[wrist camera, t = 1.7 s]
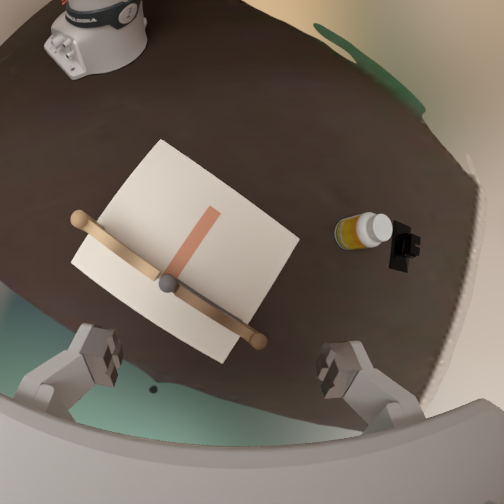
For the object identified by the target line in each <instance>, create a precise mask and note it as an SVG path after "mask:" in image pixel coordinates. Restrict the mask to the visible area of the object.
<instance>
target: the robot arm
mask: <svg viewBox="0 0 504 504" xmlns="http://www.w3.org/2000/svg"><path fill="white" fill-rule="evenodd" d="M62 1H64V0H62ZM65 3H67V5H66V11H65V12H63V13H62V14H61V15H60V16H59V17H58V18H57V19H56V20H55V21H54V23H53V25H52V27H51V31H52V35H51V36H50V37H49V39H48V40H47V42H46V43H45V45H44V48H45V50H46V52H47V53H48V54H49V55H50V56H51V57H52V58H53V59H54V61H55V62H56V63H57V64H58V65H59V66H60V67H61V68H62V69H63V71H64V72H65V73H66V74H67V75H68V76H69V77H70V78H71V79H73V80H75V79H79V78H82V77H84V76H87V75H89V74H98V73H106V72H110V71H113V70H116V69H119V68H121V67H123V66H125V65H127V64H129V63H130V62H132V61H133V60H135V59H136V58H137V57H138V56H139V55H140V54H141V53H142V52H143V50H144V49H145V47H146V44H147V36H146V32H145V28H146V25H147V20H146V18H144V17H143V8H142V0H65V1H64V2H63V4H62V5H64V4H65ZM119 337H120V335H119V332H118V330H117V329H113V328H108V327H103V326H98V325H92V324H87V323H83V324H82V325H81V326H80V328H79V329H78V331H77V333H76V335H75V337H74V339H73V341H72V343H71V345H70V347H69V349H68V351H65V350H64V351H63V352H61V353H59V354H58V355H56V356H55V357H53V358H51V359H50V360H48V361H47V362H45V363H44V364H42V365H40V366H39V367H37V368H36V369H34V370H33V371H31V372H29V373H28V374H26V375H25V376H24V377H23V379H22V381H21V384H20V385H19V388H18V390H17V392H16V394H15V396H14V398H13V399H12V398H10V397H8V396H6V395H4V394H2V393H0V504H504V411H502V410H501V409H500V408H499V407H497V406H496V405H494V404H493V403H491V402H490V401H487V400H486V399H477V400H475V401H472V402H470V403H468V404H465V405H463V406H460V407H458V408H455V409H453V410H450V411H447V412H444V413H442V414H439V415H436V416H433V417H430V418H427V419H426V418H425V416H424V413H423V411H422V409H421V407H420V405H419V403H418V401H417V399H416V397H415V396H414V395H412V394H411V393H409V392H408V391H407V390H405V389H404V388H403V387H401V386H400V385H398V384H397V383H396V382H394V381H393V380H392V379H390V378H389V377H387V376H386V375H385V374H383V373H382V372H381V371H379V370H378V369H374V368H373V366H372V364H371V362H370V360H369V358H368V355H367V353H366V351H365V349H364V347H363V345H362V343H361V342H360V341H348V342H347V341H345V342H326V343H325V344H324V345H323V348H322V350H323V354H321V355H320V356H319V358H318V360H317V366H316V370H317V375H318V378H319V379H320V380H322V381H323V382H322V384H321V389H322V393H323V396H324V399H326V398H340V397H343V399H344V400H345V401H346V402H347V403H348V404H349V405H350V406H351V407H352V408H353V409H354V410H355V411H356V412H357V413H358V414H359V415H360V416H361V417H362V418H363V419H364V420H365V421H366V423H367V424H368V425H369V426H368V427H367V429H366V430H365V431H364V432H363V433H362V435H360V436H356V437H350V438H344V439H338V440H330V441H323V442H315V443H305V444H296V445H295V444H294V445H280V446H248V447H247V446H245V447H244V446H212V445H211V446H210V445H195V444H185V443H175V442H167V441H160V440H153V439H146V438H141V437H135V436H130V435H125V434H120V433H115V432H111V431H107V430H103V429H98V428H94V427H91V426H87V425H84V424H80V423H77V422H75V420H74V418H73V417H72V415H71V414H70V413H69V411H68V409H70V408H71V407H72V406H73V405H74V404H75V403H76V402H77V401H78V400H80V398H82V396H84V395H85V394H86V393H87V392H88V391H89V390H90V389H91V388H92V387H94V385H95V384H98V385H104V386H109V387H114V386H115V383H116V379H117V376H118V373H117V370H116V369H117V368H119V367H120V366H121V363H122V359H123V347H122V344H121V343H120V342H119V341H118V339H119Z"/></svg>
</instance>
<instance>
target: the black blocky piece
mask: <svg viewBox="0 0 504 504" xmlns="http://www.w3.org/2000/svg"><path fill="white" fill-rule="evenodd" d="M415 244H417V245H420V237H419V236H416V235H414V234H411V227H409V226H407V225H404V224H402V223H400V222H397V221H395V220H394V223H393V235H392V246H391V255H390V263H389V268H390V269H394V270H398V271H402V272H406V273H407V272H408V262H409V258H413V257H416V256H419V252H420V248H419V247H416V246H415Z"/></svg>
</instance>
